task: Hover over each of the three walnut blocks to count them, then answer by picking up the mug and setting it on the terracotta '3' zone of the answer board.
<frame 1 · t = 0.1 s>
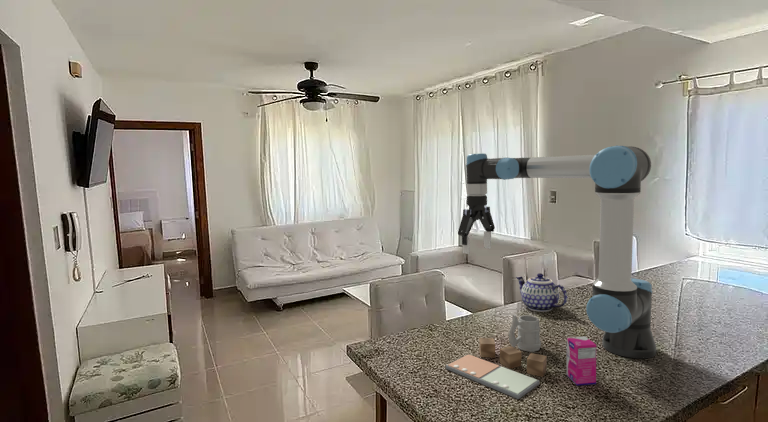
hand: (477, 250, 163), 28 cm above the worktop, fingers open, 13 cm apart
walnut block b: (510, 364, 130), on the worktop
supplement box: (580, 380, 120), on the worktop
mug: (523, 349, 141), on the worktop
walnut block c: (487, 354, 137), on the worktop
answer board: (490, 376, 123), on the worktop
teapot: (539, 308, 180), on the worktop
walnut block a: (536, 372, 125), on the worktop
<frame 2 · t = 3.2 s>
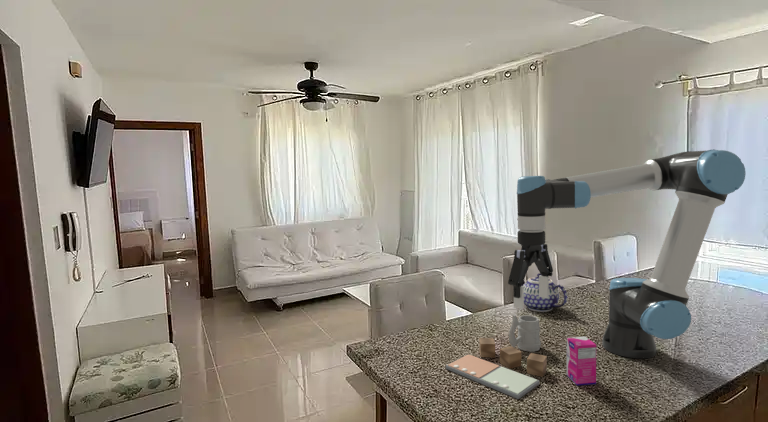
hand: (531, 302, 124), 20 cm above the worktop, fingers open, 13 cm apart
nothing on the worktop moved.
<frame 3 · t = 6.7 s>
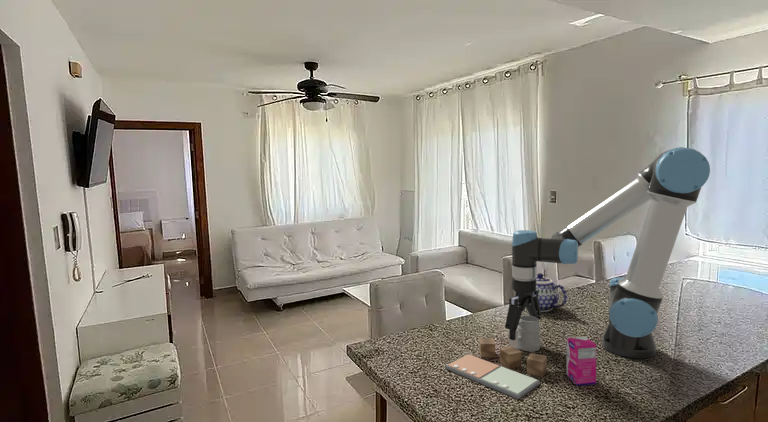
hand: (523, 343, 141), 2 cm above the worktop, fingers closed on mug, 11 cm apart
mug: (523, 349, 141), on the worktop, touching gripper
everything else where it was.
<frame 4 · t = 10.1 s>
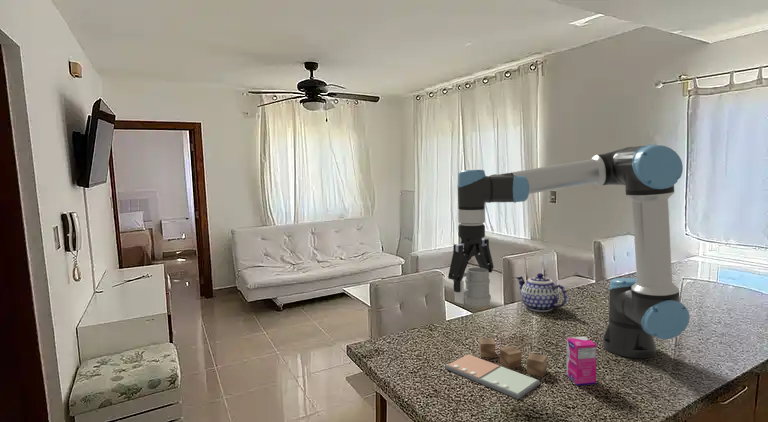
hand: (472, 298, 125), 22 cm above the worktop, fingers closed on mug, 11 cm apart
mug: (471, 304, 125), point 20 cm above the worktop, touching gripper
everything else where it was.
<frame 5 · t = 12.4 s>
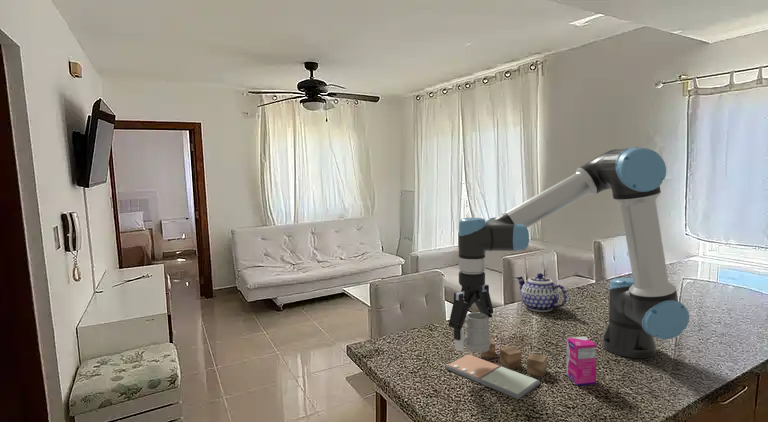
hand: (471, 343, 126), 8 cm above the worktop, fingers closed on mug, 11 cm apart
mug: (471, 349, 127), point 6 cm above the worktop, touching gripper
everything else where it was.
when the fingers open (5 cm above the worktop, at t = 13.9 s): mug drops 2 cm, resting on answer board.
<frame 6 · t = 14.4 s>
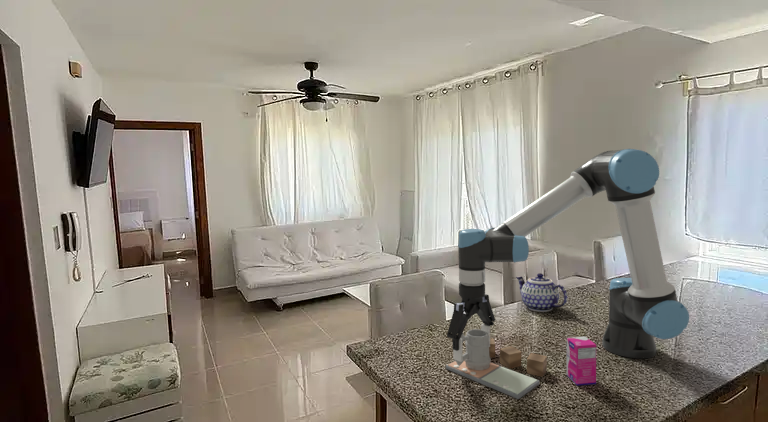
hand: (472, 352, 127), 5 cm above the worktop, fingers open, 13 cm apart
mug: (471, 367, 127), point 1 cm above the worktop, touching answer board
everything else where it was.
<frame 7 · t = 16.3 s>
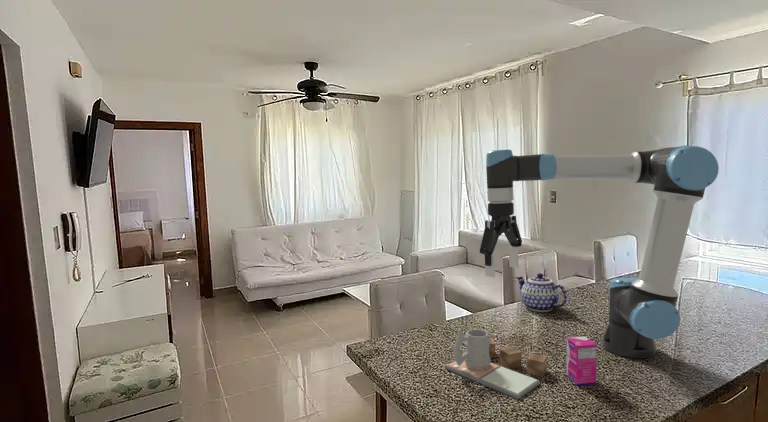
hand: (502, 271, 130), 28 cm above the worktop, fingers open, 13 cm apart
nothing on the worktop moved.
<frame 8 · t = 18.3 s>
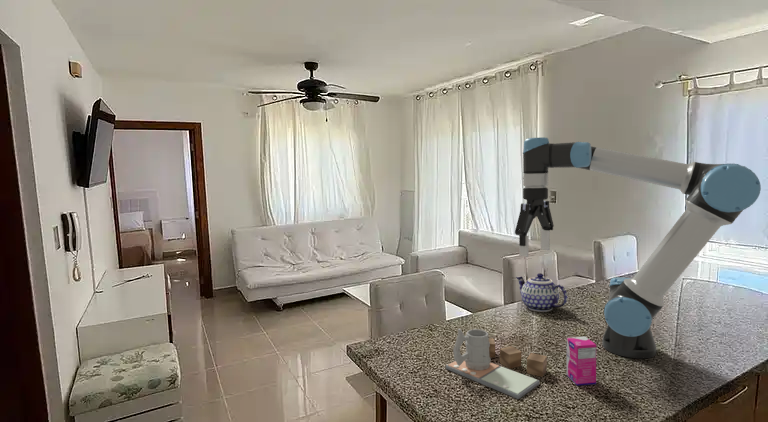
hand: (534, 252, 138), 32 cm above the worktop, fingers open, 13 cm apart
nothing on the worktop moved.
at the end: mug inside the target area on the answer board (1.0 cm from its centre), point 1.0 cm above the answer board's base; mug tilted 0°; the gripper is holding nothing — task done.
